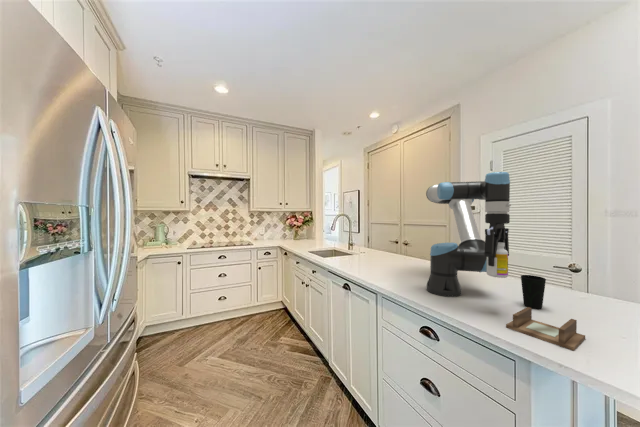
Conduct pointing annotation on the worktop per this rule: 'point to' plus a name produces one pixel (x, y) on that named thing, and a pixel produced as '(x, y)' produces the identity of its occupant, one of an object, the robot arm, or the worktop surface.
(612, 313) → the worktop surface
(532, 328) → the holder
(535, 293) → the cup
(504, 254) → the supplement bottle
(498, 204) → the robot arm
